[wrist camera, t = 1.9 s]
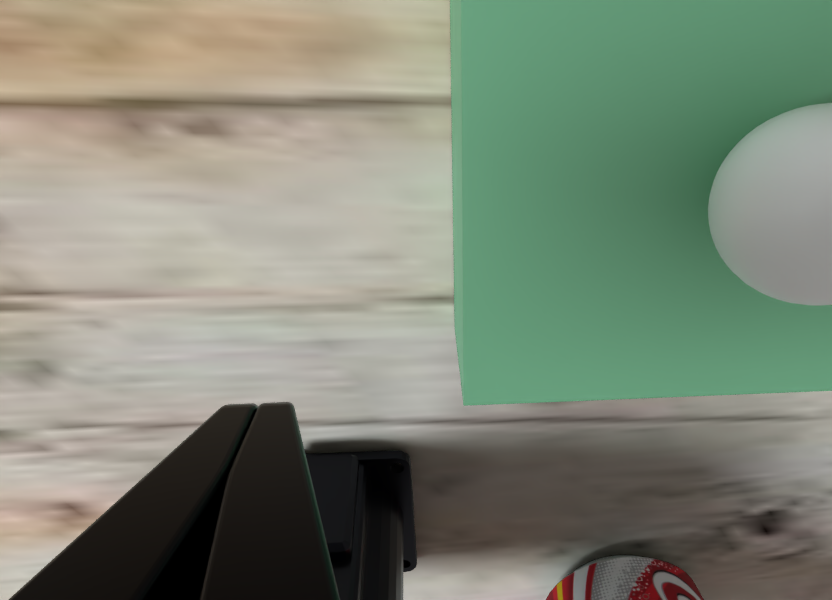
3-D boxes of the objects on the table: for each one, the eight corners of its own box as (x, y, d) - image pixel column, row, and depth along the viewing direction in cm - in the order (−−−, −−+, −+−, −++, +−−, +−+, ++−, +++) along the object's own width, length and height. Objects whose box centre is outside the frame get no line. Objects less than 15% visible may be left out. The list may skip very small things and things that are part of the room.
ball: (832, 247, 16) (950, 340, 12) (667, 254, 16) (739, 349, 12) (886, 77, 14) (1046, 132, 10) (697, 86, 14) (792, 143, 10)
